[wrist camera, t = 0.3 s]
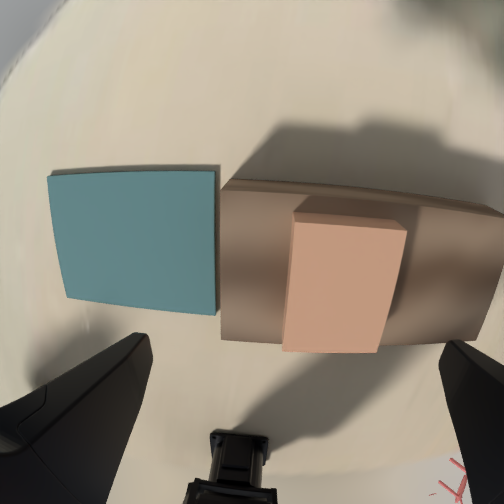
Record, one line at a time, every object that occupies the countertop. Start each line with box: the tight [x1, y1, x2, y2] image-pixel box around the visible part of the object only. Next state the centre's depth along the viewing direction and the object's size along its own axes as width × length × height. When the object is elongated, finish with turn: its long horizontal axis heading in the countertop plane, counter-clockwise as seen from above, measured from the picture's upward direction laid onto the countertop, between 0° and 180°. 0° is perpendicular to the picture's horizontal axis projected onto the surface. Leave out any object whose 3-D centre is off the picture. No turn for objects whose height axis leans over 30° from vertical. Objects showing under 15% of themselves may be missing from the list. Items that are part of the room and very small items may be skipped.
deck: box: [220, 179, 504, 346], centre depth 20 cm, size 10×20×4 cm, turn 88°
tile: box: [282, 212, 407, 353], centre depth 18 cm, size 8×6×2 cm
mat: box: [47, 171, 216, 316], centre depth 23 cm, size 11×14×1 cm
